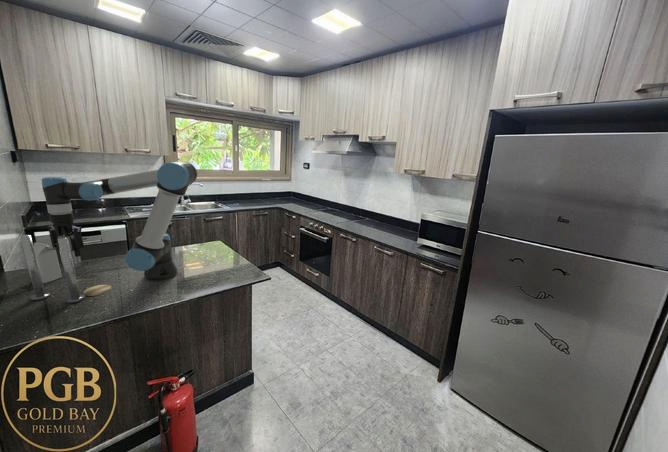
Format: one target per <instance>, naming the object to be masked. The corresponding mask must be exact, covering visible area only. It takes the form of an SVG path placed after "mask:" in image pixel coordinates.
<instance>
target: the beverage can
mask: <svg viewBox="0 0 668 452" xmlns="http://www.w3.org/2000/svg"><path fill="white" fill-rule="evenodd" d="M58 237H59V238H62V237H68V241H69V246H70V251H71V250H72V245H71V241H70V238H69V236H65V235H61V236H58ZM70 237H71V239H74V235H72V236H70ZM74 253H75V252H74ZM71 255H72V260H73V265H74V268H77V267H79V266H81V265H82V261H81V262H80V261H79V256H78V257H75V258H76V262H77V264H75V262H74V257H73V252H72V251H71Z"/></svg>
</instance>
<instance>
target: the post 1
mask: <svg viewBox="0 0 668 452" xmlns="http://www.w3.org/2000/svg"><path fill="white" fill-rule="evenodd" d="M19 238H20V241H21V245H22V249H23V253H24V257H25V261H26V265H27V268H28V272H29V276H30V279H31V280H30V281H31V284H32V288H33V292H34V294H33V295H31V296H30V300H31V301H32V302H37V301H38V302H39V301H42V300H45V299H48V298H50V297H51V295H52V293H51V292H49V291H45V287H44V283H43V282H42V278H41V274H40V270H39V266H38V262H37V258H36V254H35V249H34V243H33V238H32V235H31V234H23V235H20V236H19Z"/></svg>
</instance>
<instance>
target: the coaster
mask: <svg viewBox="0 0 668 452" xmlns="http://www.w3.org/2000/svg"><path fill="white" fill-rule="evenodd" d="M111 290H112V285H110V284H99V285H94V286H91V287H88V288H87V289H85V290H83V292H82V293H83V295H85V297H95V296H100V295H103V294H106V293H108V292H110V291H111Z"/></svg>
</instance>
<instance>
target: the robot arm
mask: <svg viewBox="0 0 668 452" xmlns="http://www.w3.org/2000/svg"><path fill="white" fill-rule="evenodd" d="M197 178H198V171H197V168H196V167H195V166H194V164H192V163H191V162H189V161H184V160H179V161H168V162H166V163H163V164H162V165H161V166H160V167H158V169H155V170H149V171H143V172H137V173H131V174H126V175H125V174H124V175H119V176H114V177H109V178H102V179H96V180H91V181H83V182H82V181H81V182H72V181H71V182H68V180H67V179H66V177H64V176H47V177H46V176H45V177H42V179H41V185H42V188H41V189H42V191H43V193H44V198H45V202H46V203H45V204H46V208H47V213H48V214H49V215H48V217H49V221H50V223H51V224H52V225H48V226H46V229H47V230H48V233H49V238H50V241H51V246H52V249H56V250H57V251H58V254H59V256H60V260H61V263H62V264H63V261H62V257H61V252H60V248H59V243H58V238H59V237H58V236H61V235H65V236H69V238H70V241H71V245H72V250H71V251H72V252H73V257H74V262H75V264H77V262H76V258H75V257H78V256H79V261H80V262H81V263H82V258H81V249H84V248H85V246H84V241H83V240H84V239H83V236H82V229H83V228H82V227H81V226H76V225H75V224H74V221H75V217H74V212H73V208H72V201H98V200H100V199H101V198H102V197H105V196H110V195H114V194H119V193H125V192H132V191H138V190H143V189H148V188H153V187H157V189H158V191H157V195H156V197H155V199H154V202H153V205H152V206H151V210H150V212H149V215H148V218H147V220H146V223H145V225H144V228H143V229H142V233H141V235H140V236H137V237H136V238H135V240H134V243H133V245H132V248H131V249H129V250H128V251H126V254H125V262H126V264H127V265H128V266H129V268H130V269H132V270H135V271H139V272H143V273H144V274H143V277H144V280H146V281H150V282H160V281H164V280H169V279H171V278H174V277H175V276H177V275H178V268H177V266H176V264H175V262H174V259H173V253H172V252H173V251H172V244H171V241H172V240H171V239H172V238H171V237H170V234H168V233H167V230H168V228H169V225H170V222H171V220H172V218H173V215H174V213H175V210H176V209H177V205H178V203H179V201H180V197H181V198H182V197H185V196H186V193H187V192H188V188H189V186H190V185H192V184H193V183H194V182H196V180H197ZM72 235H74V239H71V237H70V236H72ZM74 252H75V253H74Z"/></svg>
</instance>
